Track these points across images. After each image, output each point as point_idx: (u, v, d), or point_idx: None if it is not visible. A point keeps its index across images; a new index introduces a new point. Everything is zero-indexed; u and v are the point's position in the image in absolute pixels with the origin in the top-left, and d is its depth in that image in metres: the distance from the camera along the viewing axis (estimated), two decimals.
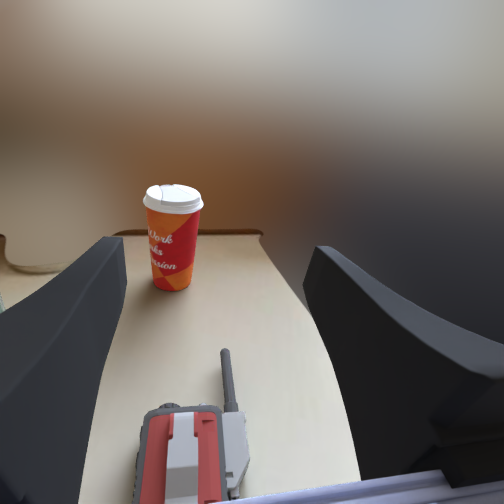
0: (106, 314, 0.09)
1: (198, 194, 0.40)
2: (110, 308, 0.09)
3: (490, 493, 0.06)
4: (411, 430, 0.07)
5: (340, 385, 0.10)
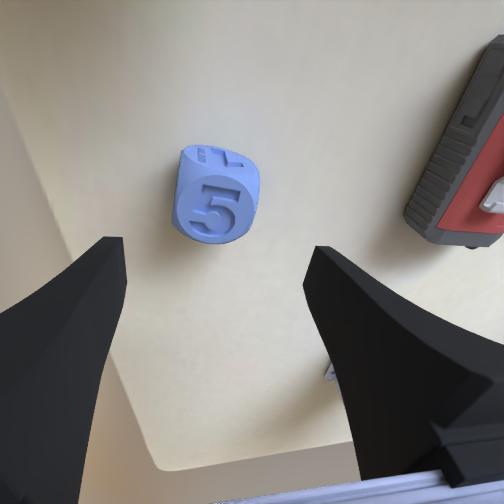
0: (106, 314, 0.09)
1: None
2: (110, 308, 0.09)
3: (490, 493, 0.06)
4: (411, 430, 0.07)
5: (340, 385, 0.10)
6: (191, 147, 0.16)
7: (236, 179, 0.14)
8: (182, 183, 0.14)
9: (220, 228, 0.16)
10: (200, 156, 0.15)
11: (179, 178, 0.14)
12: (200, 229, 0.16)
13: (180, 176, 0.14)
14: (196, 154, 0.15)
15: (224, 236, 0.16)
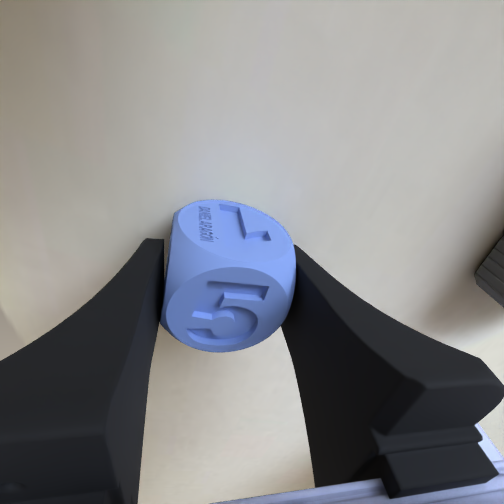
0: (154, 314, 0.09)
1: None
2: (156, 308, 0.09)
3: (490, 493, 0.06)
4: (355, 436, 0.06)
5: (299, 388, 0.10)
6: (189, 207, 0.10)
7: (263, 270, 0.09)
8: (174, 279, 0.08)
9: (234, 331, 0.10)
10: (203, 227, 0.09)
11: (169, 269, 0.09)
12: (203, 334, 0.10)
13: (171, 266, 0.09)
14: (197, 223, 0.09)
15: (240, 343, 0.10)
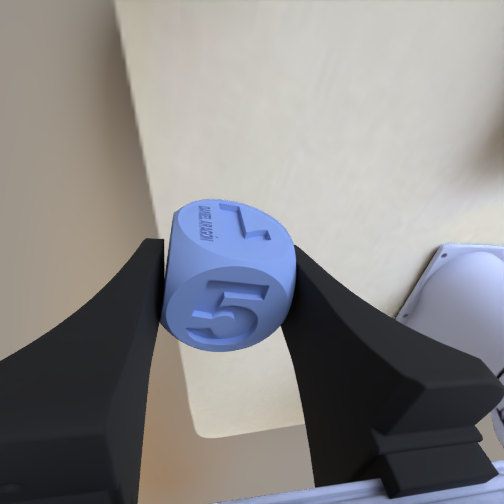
0: (154, 314, 0.09)
1: None
2: (156, 308, 0.09)
3: (490, 493, 0.06)
4: (355, 436, 0.06)
5: (299, 388, 0.10)
6: (189, 207, 0.10)
7: (263, 270, 0.09)
8: (174, 278, 0.08)
9: (234, 330, 0.10)
10: (203, 226, 0.09)
11: (169, 269, 0.09)
12: (203, 333, 0.10)
13: (171, 265, 0.09)
14: (197, 222, 0.09)
15: (240, 342, 0.10)
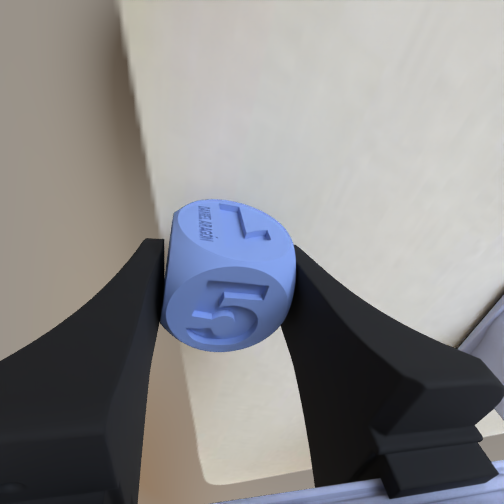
0: (154, 314, 0.09)
1: None
2: (156, 308, 0.09)
3: (490, 494, 0.06)
4: (355, 436, 0.06)
5: (299, 388, 0.10)
6: (189, 207, 0.10)
7: (263, 270, 0.09)
8: (174, 278, 0.08)
9: (234, 330, 0.10)
10: (203, 226, 0.09)
11: (169, 269, 0.09)
12: (203, 334, 0.10)
13: (171, 266, 0.09)
14: (197, 222, 0.09)
15: (240, 342, 0.10)
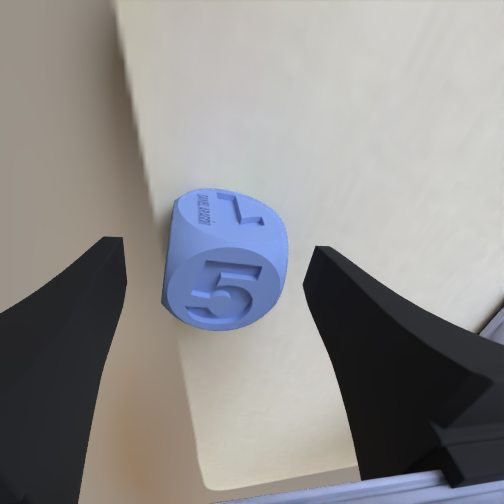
0: (106, 314, 0.09)
1: None
2: (110, 308, 0.09)
3: (491, 494, 0.06)
4: (411, 430, 0.07)
5: (340, 385, 0.10)
6: (188, 195, 0.11)
7: (256, 251, 0.09)
8: (175, 258, 0.09)
9: (230, 310, 0.11)
10: (202, 212, 0.10)
11: (170, 250, 0.09)
12: (202, 313, 0.11)
13: (172, 247, 0.09)
14: (196, 209, 0.10)
15: (236, 322, 0.11)
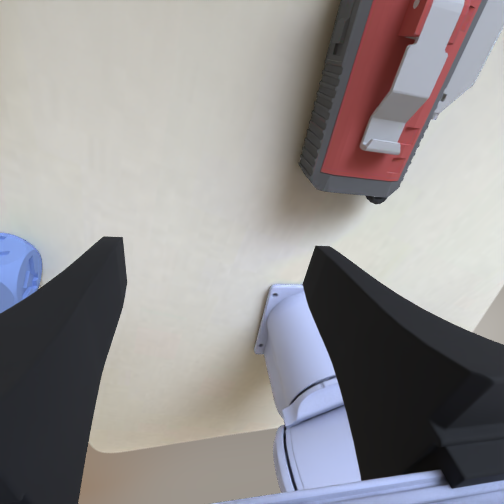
0: (106, 314, 0.09)
1: None
2: (110, 308, 0.09)
3: (490, 493, 0.06)
4: (411, 430, 0.07)
5: (339, 385, 0.10)
6: None
7: None
8: None
9: None
10: None
11: None
12: None
13: None
14: None
15: None
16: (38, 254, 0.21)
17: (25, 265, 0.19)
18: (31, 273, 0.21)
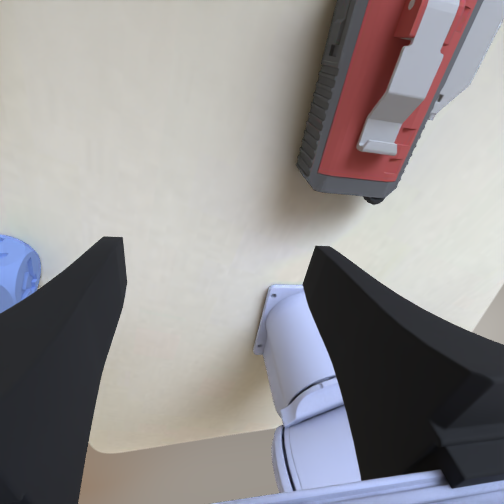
0: (106, 314, 0.09)
1: None
2: (110, 308, 0.09)
3: (490, 493, 0.06)
4: (411, 430, 0.07)
5: (340, 385, 0.10)
6: None
7: None
8: None
9: None
10: None
11: None
12: None
13: None
14: None
15: None
16: (37, 256, 0.21)
17: (24, 267, 0.19)
18: (30, 275, 0.21)
